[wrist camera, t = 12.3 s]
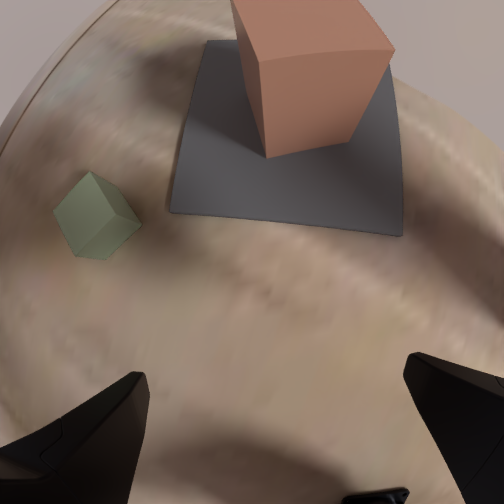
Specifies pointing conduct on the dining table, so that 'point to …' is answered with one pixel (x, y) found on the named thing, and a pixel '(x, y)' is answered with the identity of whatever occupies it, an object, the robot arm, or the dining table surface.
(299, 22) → the pink upright block
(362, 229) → the charcoal mat
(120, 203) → the olive block
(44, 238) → the dining table surface
